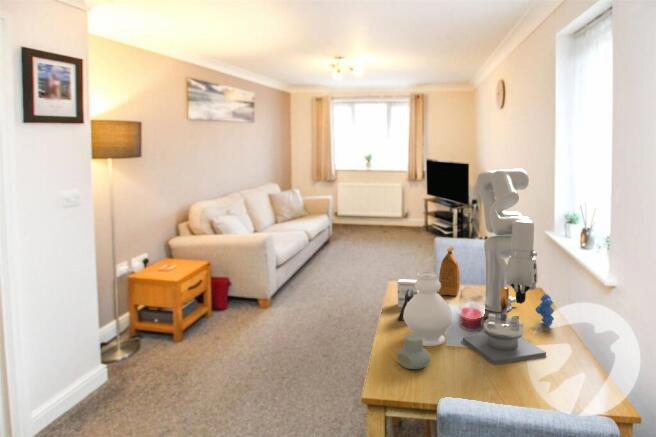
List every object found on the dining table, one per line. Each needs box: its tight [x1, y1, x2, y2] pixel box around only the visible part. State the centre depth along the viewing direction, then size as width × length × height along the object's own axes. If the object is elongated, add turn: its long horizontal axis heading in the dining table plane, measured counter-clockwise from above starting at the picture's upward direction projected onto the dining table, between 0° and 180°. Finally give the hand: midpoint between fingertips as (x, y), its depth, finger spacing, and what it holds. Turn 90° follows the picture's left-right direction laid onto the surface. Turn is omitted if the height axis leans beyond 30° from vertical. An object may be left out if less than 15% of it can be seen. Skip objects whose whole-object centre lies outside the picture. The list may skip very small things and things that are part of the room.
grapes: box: [534, 293, 555, 328], centre depth 195 cm, size 12×7×12 cm, turn 170°
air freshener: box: [396, 333, 431, 370], centre depth 164 cm, size 11×8×10 cm
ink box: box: [397, 278, 419, 308], centre depth 220 cm, size 9×5×12 cm, turn 75°
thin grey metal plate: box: [462, 333, 547, 366], centre depth 175 cm, size 20×20×6 cm
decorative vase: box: [403, 271, 453, 347], centre depth 183 cm, size 18×18×25 cm
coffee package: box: [438, 245, 461, 296], centre depth 236 cm, size 10×12×22 cm
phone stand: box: [397, 289, 414, 323], centre depth 205 cm, size 9×6×12 cm, turn 74°
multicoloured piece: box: [483, 287, 524, 340], centre depth 178 cm, size 23×13×12 cm, turn 159°
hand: (520, 302), depth 183 cm, fingers closed
